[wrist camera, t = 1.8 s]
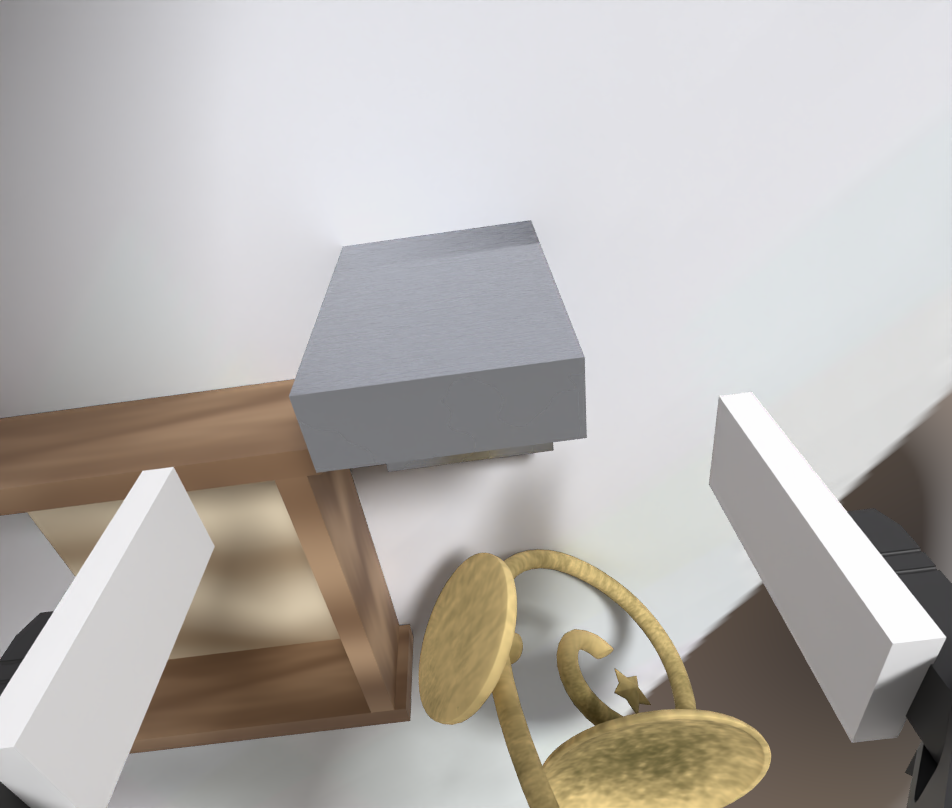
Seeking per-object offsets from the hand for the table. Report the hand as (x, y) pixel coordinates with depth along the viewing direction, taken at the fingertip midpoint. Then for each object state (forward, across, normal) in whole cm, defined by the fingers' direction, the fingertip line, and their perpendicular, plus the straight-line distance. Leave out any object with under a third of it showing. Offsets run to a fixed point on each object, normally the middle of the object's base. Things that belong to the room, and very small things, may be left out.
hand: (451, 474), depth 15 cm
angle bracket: (+11, 0, -2) cm, 11 cm away
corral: (+11, -14, -12) cm, 21 cm away
